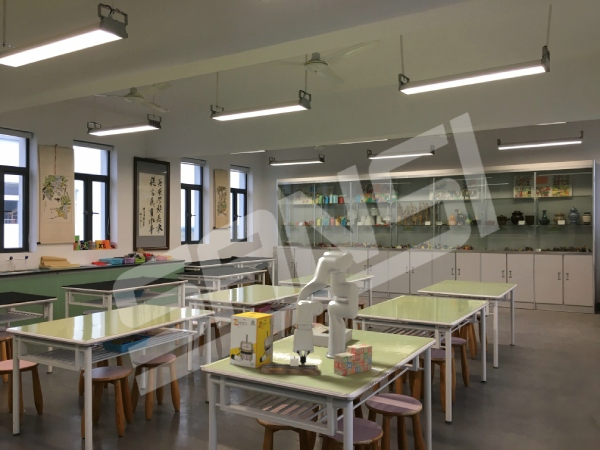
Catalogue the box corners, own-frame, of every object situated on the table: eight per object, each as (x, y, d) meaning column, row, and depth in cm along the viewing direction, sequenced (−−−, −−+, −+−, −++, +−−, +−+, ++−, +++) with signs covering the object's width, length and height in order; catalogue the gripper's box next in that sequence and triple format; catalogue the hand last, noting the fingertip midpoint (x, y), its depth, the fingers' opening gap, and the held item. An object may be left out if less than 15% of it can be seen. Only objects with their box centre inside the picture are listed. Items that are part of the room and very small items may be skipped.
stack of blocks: (342, 376, 233) (343, 350, 233) (333, 373, 238) (334, 348, 238) (371, 369, 247) (372, 345, 247) (362, 367, 251) (363, 343, 252)
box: (319, 336, 331) (302, 345, 301) (320, 325, 331) (303, 332, 302) (352, 340, 322) (338, 349, 293) (352, 329, 323) (338, 336, 293)
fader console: (317, 369, 244) (317, 363, 244) (318, 374, 234) (319, 368, 234) (262, 368, 243) (262, 362, 243) (261, 373, 233) (261, 367, 233)
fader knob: (298, 365, 241) (298, 356, 241) (298, 368, 236) (298, 358, 236) (290, 365, 241) (290, 355, 241) (290, 368, 236) (290, 358, 236)
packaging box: (272, 361, 257) (274, 314, 258) (255, 368, 243) (257, 318, 243) (247, 357, 265) (249, 311, 265) (229, 363, 250) (231, 315, 251)
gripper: (318, 326, 243) (317, 362, 243) (288, 325, 243) (287, 362, 242) (319, 328, 236) (318, 366, 235) (289, 328, 235) (288, 366, 235)
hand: (302, 364), depth 239 cm, fingers closed
